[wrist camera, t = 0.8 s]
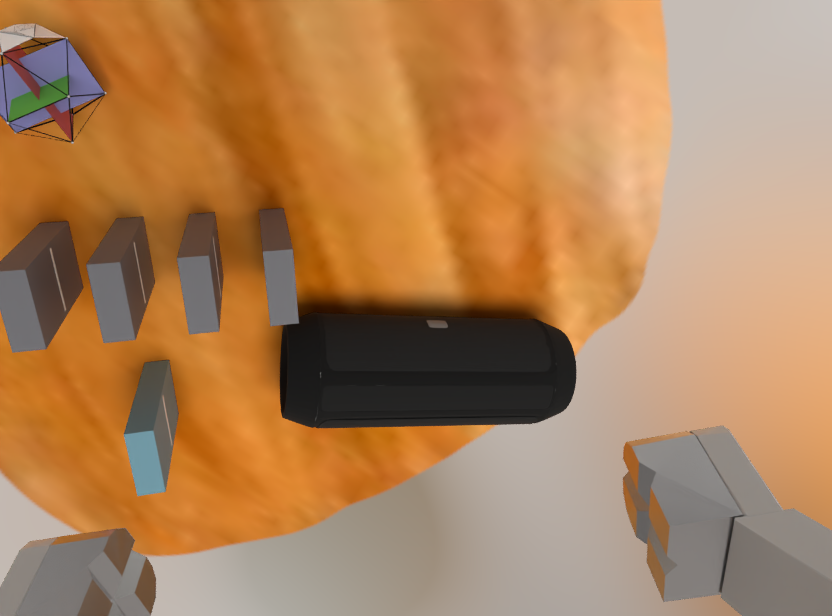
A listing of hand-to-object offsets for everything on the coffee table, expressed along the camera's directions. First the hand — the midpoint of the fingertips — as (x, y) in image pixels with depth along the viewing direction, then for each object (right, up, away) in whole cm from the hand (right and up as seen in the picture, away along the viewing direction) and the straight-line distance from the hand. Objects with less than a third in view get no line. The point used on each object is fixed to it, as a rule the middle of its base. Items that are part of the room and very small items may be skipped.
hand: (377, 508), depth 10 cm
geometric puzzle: (-25, +20, +35) cm, 48 cm away
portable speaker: (0, 0, +51) cm, 51 cm away
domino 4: (-17, +8, +42) cm, 46 cm away
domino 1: (-27, +7, +40) cm, 49 cm away
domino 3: (-22, -4, +46) cm, 52 cm away
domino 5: (-11, +9, +44) cm, 46 cm away
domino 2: (-22, +8, +41) cm, 47 cm away
